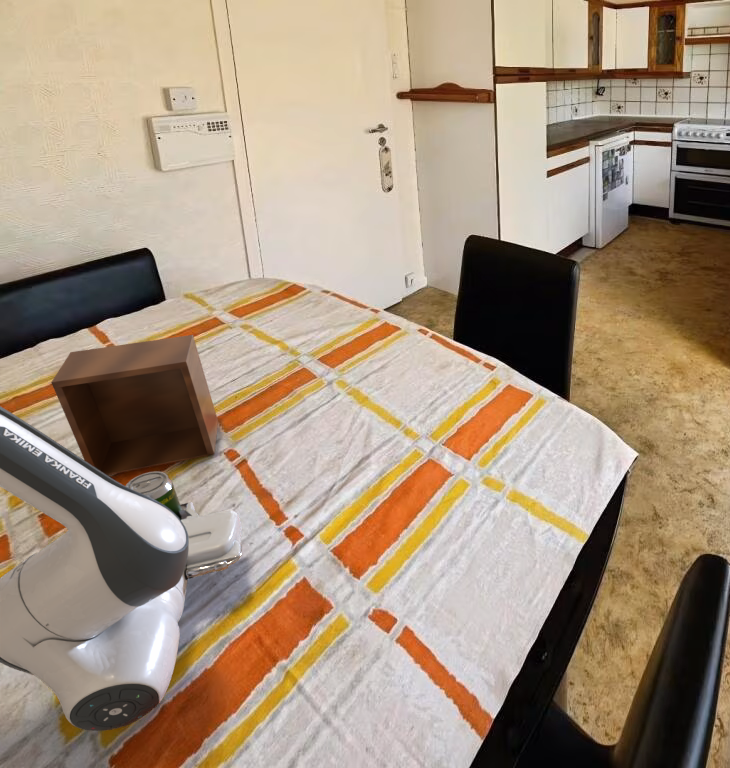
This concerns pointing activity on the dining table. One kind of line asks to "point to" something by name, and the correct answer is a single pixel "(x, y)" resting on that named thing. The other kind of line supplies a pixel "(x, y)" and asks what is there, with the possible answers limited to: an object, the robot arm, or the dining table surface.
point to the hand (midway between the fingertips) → (159, 512)
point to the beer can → (157, 489)
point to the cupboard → (138, 404)
